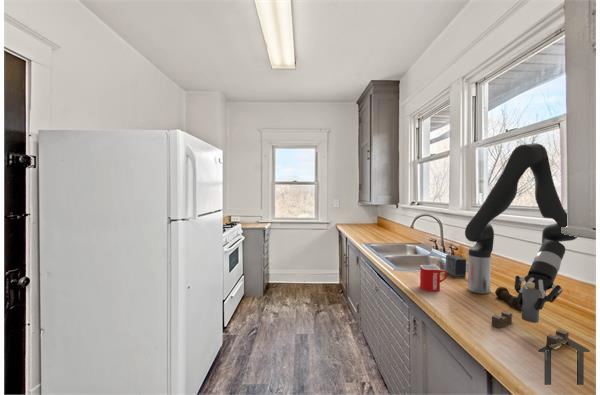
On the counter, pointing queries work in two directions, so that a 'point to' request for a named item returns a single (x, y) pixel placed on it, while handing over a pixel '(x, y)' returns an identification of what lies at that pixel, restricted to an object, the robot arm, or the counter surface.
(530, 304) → the grey cylindrical bottle
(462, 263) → the small box
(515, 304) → the dark brown lumpy bar
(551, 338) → the notched blocks
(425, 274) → the mug
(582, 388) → the counter surface
